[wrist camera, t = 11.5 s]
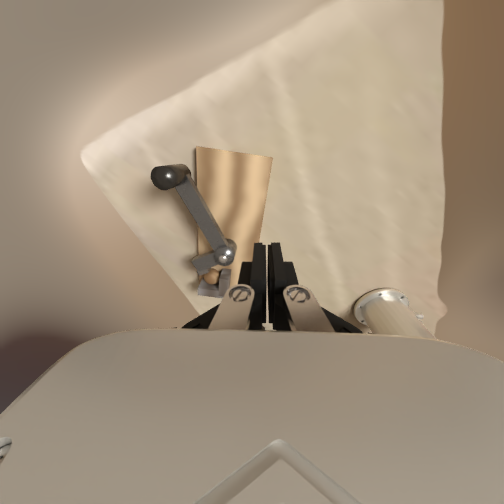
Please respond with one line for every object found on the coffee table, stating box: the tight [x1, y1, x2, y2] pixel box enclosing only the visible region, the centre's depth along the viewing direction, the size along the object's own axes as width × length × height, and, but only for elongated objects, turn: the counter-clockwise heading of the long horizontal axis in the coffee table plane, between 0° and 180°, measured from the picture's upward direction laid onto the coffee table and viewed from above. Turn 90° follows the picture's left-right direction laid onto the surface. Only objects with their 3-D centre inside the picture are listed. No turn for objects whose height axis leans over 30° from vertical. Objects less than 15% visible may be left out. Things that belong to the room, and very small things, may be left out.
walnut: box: [204, 268, 220, 284], centre depth 40 cm, size 4×4×4 cm
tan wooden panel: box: [196, 146, 273, 298], centre depth 36 cm, size 13×30×5 cm, turn 173°
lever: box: [151, 164, 237, 276], centre depth 32 cm, size 10×20×8 cm, turn 24°
